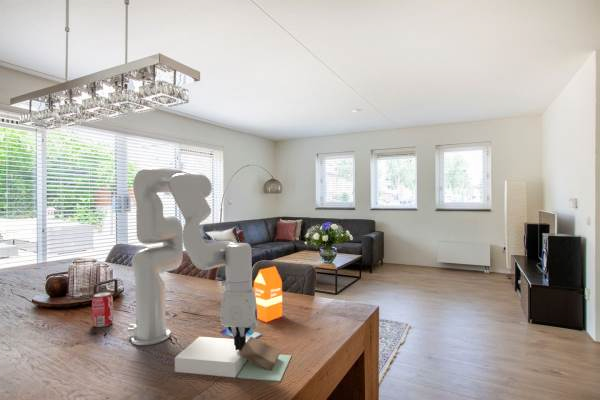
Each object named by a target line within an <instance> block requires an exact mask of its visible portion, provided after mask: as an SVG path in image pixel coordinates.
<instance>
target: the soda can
mask: <svg viewBox="0 0 600 400" xmlns="http://www.w3.org/2000/svg"><path fill="white" fill-rule="evenodd" d="M111 294H112V292H110V291H104V292H103V291H102V292H98V293H95V294H94V295H93V298H92V300H91V323H92V326H94V327H96V328H103V327H107V326H109V325H111V323H113V320H114V299H113V298H114V297H113V295H111Z"/></svg>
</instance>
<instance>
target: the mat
mask: <svg viewBox="0 0 600 400" xmlns="http://www.w3.org/2000/svg"><path fill="white" fill-rule="evenodd" d="M291 358H292V354H282V353H281V354H279V356H278V359H277V361H276V363H275V365H274V367H273V369H272V371H270V370H268V369H266V368H264V367H263V366H261V365H259V364H257V363H255V362H253V361H251V360H249V359H248V360H247V362H246V363H245V364H244V366H243V367H242V369H241V370H240V372H239V373H238V374H237V376H236V378H237V379H238V378H239V379H246V380H247V379H248V380H257V381H258V380H259V381H268V382H281V380H282V378H283V376H284V374H285V372H286V369H287V367H288V365H289V363H290V360H291Z"/></svg>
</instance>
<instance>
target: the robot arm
mask: <svg viewBox="0 0 600 400" xmlns="http://www.w3.org/2000/svg"><path fill="white" fill-rule="evenodd" d="M212 186H213V185H212V183H211V181H210V179H209V178H208V177H207V176H206V175H205V174H202V173H197V172H192V171H187V170H183V169H178V168H176V169H175V168H165V167H155V166H151V167H144V168H141V169H139V171H137V172H136V174H135V176H134V178H133V183H132V188H133V189H132V190H133V195H134V199H135V204H136V238H137V240H138V242H139V243H140V244H142V245H153V244H161V243H162V245H158V246H152V247H146V248H143V249H140V250H137V251H136V252H135V253H134V254H133V256H132V257H131V269H132V272H133V277H134V286H135V287H134V288H135V323H130V324H129V325H128V328H127V330H126V331H127V333H133V335H132V336H131V339H130V341H131V342H130V343H132V344H133V345H136V346H149V345H150V346H151V345H155V344H159V343H161V342H164V341H165V340H167V339H169V338H170V337H171V335H172V332H171V330H170V329H169V328H167V317H166V315H167V312H166V310H167V309H166V305H167V304H166V303H167V302H166V284H165V281H164V280H163V279H162V278H161V275H160V274H163V273H166V272H170V271H174V270H177V269H178V268H179V267H180V266H181V265H182V263H183V258H184V257H183V254H184V251H183V250H184V249H185V252H186V253H187V256H188V258H189V259H190V261H191V263H192V264H193V265H194V267H196V269H199V270H202V271H207V270H212V269H215V268H219V267H223V266H225V280H222V281H221V286H223V287H225V288H224V290H223V291H222V295H221V304H220V316H219V317H220V318H219V320H220V325H221V327H222V328H224V329H229V330H230V331H231V332H232V335H233V336H234V338H233V339H234V346H235V350H242V348H243V346H244V345H245V343H246V333H247V332H248V331H249V330H251V331H254V330H257V328H258V327H259V326H258V322H257V321H258V319H257V318H258V313H257V302H256V296H255V292H254V288H253V268H252V267H253V266H252V264H253V262H252V260H253V259H252V257H253V256H252V245H250V244H249V243H247V242H234V241H231V240H219V241H218V240H217V241H214V242H212V241H211V242H206V241H205V239H204V238H203V236H202V233H201V230H200V224H201V223H202V222H204V221H205V220H206V219H208V218H209V216H210V215H211V212H212V209H211V206H210V205H209V203H208V200H207V199H206V198H208V197H209V196H210V195H211V194H212V190H213V189H212ZM157 193H165V194H166V193H167V194H168V193H171V195H172V197H173V199H174V201H175V203H176V205H177V207H178V209H179V210H180V213H181V214H182V216H183V218H184V221H185V223H184V226H183V225H182V223H181V221H180V220H179V219H178V218H177V217H176V216H173V215H164V205H163V202H162V200H161V197H160V196H159V195H158V194H157ZM183 246H184V248H183ZM239 327H240V328H241V331H240V329H239Z"/></svg>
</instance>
